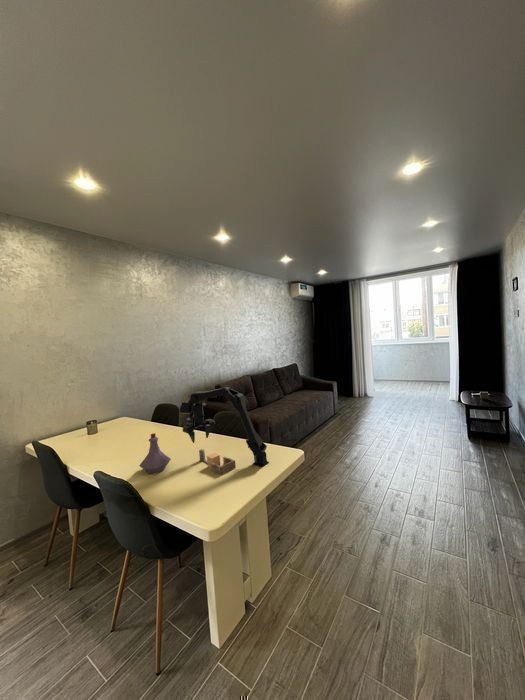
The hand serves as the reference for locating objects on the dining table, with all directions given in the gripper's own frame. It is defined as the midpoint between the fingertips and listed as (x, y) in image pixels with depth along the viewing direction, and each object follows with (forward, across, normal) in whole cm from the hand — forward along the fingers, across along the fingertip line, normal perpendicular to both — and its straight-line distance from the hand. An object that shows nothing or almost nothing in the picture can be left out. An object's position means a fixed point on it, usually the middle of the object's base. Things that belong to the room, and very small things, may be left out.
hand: (200, 440), depth 155 cm
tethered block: (+12, 0, +7) cm, 14 cm away
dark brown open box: (+12, 0, +20) cm, 23 cm away
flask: (+12, +22, -12) cm, 28 cm away
